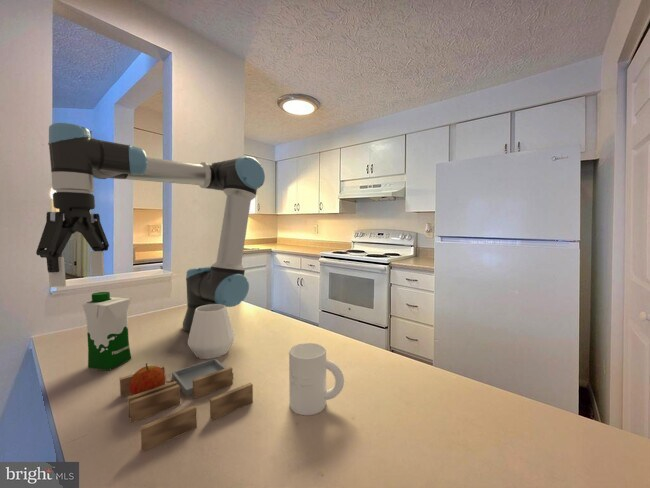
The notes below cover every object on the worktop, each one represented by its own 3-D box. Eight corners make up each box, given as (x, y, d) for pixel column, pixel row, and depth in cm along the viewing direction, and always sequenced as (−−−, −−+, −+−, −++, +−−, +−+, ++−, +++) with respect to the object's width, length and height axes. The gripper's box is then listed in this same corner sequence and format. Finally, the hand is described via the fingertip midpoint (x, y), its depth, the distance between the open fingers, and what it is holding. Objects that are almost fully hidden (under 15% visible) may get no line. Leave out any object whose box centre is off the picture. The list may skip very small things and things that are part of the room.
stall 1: (163, 380, 73) (163, 365, 73) (177, 400, 65) (176, 382, 64) (120, 395, 67) (119, 378, 66) (129, 418, 59) (128, 399, 58)
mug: (340, 422, 58) (340, 363, 57) (283, 413, 60) (283, 356, 60) (346, 398, 66) (347, 346, 65) (296, 391, 68) (296, 341, 68)
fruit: (170, 397, 66) (169, 363, 65) (135, 411, 61) (133, 374, 60) (160, 385, 71) (158, 353, 70) (126, 398, 66) (124, 363, 65)
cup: (243, 346, 94) (242, 303, 93) (215, 365, 81) (213, 316, 80) (209, 341, 98) (208, 300, 97) (177, 358, 85) (176, 311, 85)
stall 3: (230, 382, 72) (230, 366, 72) (252, 401, 64) (252, 384, 64) (193, 396, 66) (192, 379, 66) (212, 420, 58) (211, 401, 58)
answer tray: (215, 363, 82) (215, 358, 82) (233, 379, 74) (233, 373, 73) (172, 378, 74) (171, 372, 74) (186, 396, 66) (186, 390, 66)
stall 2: (178, 402, 64) (178, 384, 64) (196, 427, 56) (196, 407, 56) (130, 420, 58) (129, 401, 58) (142, 452, 50) (141, 429, 50)
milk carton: (111, 355, 87) (108, 289, 86) (137, 358, 85) (134, 290, 84) (81, 369, 79) (77, 296, 77) (109, 372, 77) (105, 298, 76)
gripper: (92, 197, 81) (97, 272, 83) (5, 185, 56) (14, 293, 58) (121, 197, 82) (125, 271, 84) (48, 186, 57) (56, 292, 59)
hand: (80, 280), depth 71 cm, fingers open, 13 cm apart
